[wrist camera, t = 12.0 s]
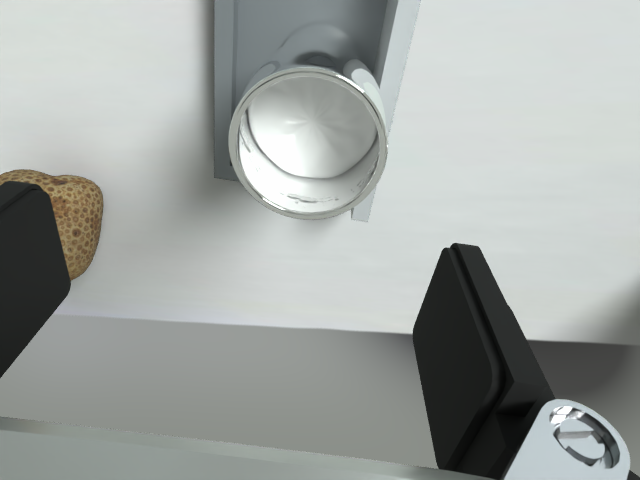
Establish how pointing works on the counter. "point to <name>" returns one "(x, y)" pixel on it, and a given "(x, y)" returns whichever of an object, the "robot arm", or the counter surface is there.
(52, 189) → the natural sponge
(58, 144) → the counter surface
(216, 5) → the guarded tray
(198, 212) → the counter surface
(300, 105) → the beer glass
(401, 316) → the counter surface
